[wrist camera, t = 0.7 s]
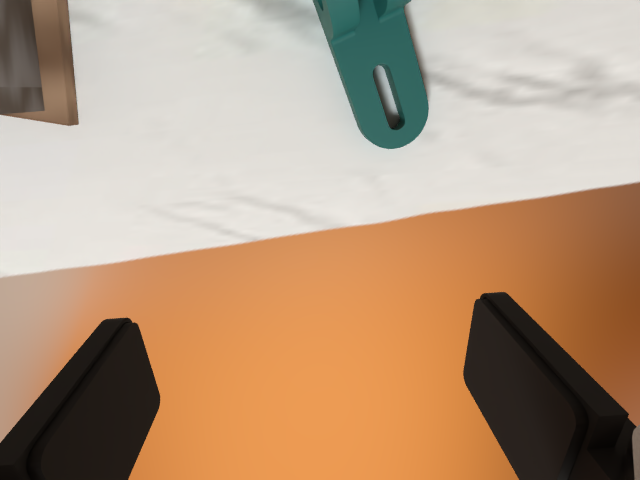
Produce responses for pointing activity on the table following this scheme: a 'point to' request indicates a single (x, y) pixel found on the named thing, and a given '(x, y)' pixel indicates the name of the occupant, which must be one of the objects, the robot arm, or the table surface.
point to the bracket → (365, 54)
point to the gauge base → (37, 61)
